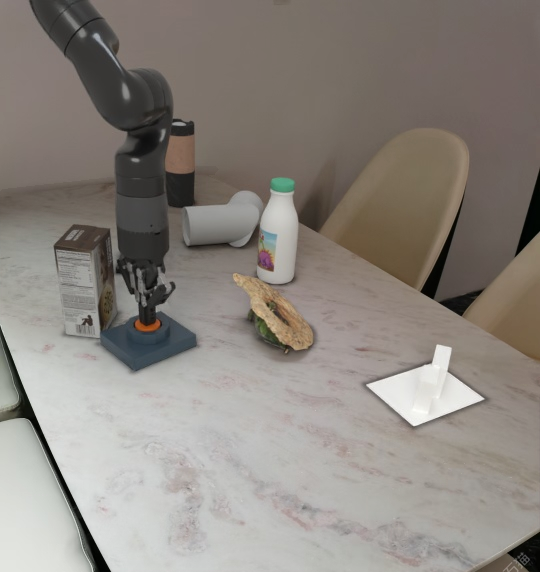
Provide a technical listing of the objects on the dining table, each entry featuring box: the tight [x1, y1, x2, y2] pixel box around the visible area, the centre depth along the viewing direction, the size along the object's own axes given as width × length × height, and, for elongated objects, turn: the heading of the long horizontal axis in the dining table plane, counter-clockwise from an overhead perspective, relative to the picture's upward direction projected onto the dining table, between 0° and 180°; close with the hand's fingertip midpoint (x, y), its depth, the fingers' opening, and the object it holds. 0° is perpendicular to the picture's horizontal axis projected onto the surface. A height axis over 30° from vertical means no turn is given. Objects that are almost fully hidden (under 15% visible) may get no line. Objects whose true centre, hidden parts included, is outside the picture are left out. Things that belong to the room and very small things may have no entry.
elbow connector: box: [181, 190, 265, 248], centre depth 135 cm, size 18×11×20 cm
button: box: [135, 319, 160, 332], centre depth 97 cm, size 4×4×2 cm
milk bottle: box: [256, 176, 299, 285], centre depth 117 cm, size 8×8×20 cm
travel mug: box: [165, 118, 196, 208], centre depth 150 cm, size 8×8×20 cm
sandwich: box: [232, 272, 314, 354], centre depth 104 cm, size 18×14×8 cm
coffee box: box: [53, 223, 118, 339], centre depth 98 cm, size 9×6×16 cm
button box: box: [99, 310, 197, 372], centre depth 97 cm, size 12×10×4 cm
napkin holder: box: [365, 344, 485, 427], centre depth 91 cm, size 15×11×6 cm
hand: (147, 323), depth 96 cm, fingers closed
